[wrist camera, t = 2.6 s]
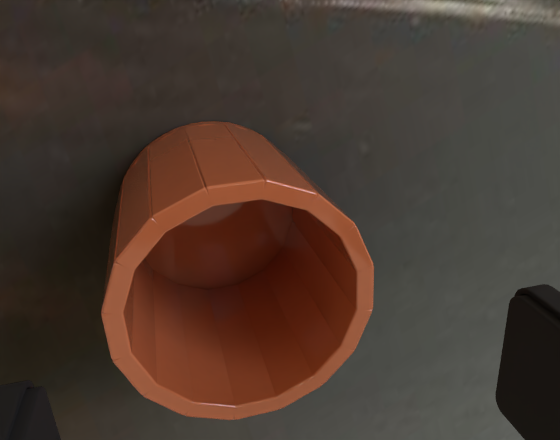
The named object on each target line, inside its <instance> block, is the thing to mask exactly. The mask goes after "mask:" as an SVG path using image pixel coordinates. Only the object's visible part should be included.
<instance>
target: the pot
mask: <svg viewBox="0 0 560 440" xmlns="http://www.w3.org/2000/svg"><path fill="white" fill-rule="evenodd" d="M373 287H374V266H373V262H372V259H371V257H370V255H369V253H368V250H367V248H366V246H365V244H364V241H363V239H362V237H361V235H360V232H359V230H358V228H357V226H356V225H355V223H354V222H353V221H352V220H351V219H350V218H349V217H348V216H347V215H346V214H345V213H344V212H343V211H342V210H341V209H340V208H339V207H338V206H337V205H336V204H335V203H334V202H333V201H332V200H331V199H330V198H329V197H328V196H327V195H326V194H325V193H324V192H323V191H322V190H321V189H320V188H319V187H318V186H317V185H316V184H315V183H314V182H313V181H312V180H311V179H310V178H309V177H308V176H307V175H306V174H305V173H304V172H303V171H302V170H301V169H300V168H299V167H298V166H297V165H296V164H295V163H294V162H293V161H292V160H291V159H290V158H289V157H288V156H286V155H285V154H284V153H283V152H282V151H281V150H279V149H278V148H277V147H276V146H275V145H274V144H273V143H272V142H270V141H269V140H268V139H266V138H265V137H264V136H263V135H260V134H259V133H257V132H255V131H253V130H251V129H248V128H246V127H243V126H240V125H236V124H232V123H228V122H217V121H210V122H198V123H192V124H188V125H185V126H181V127H178V128H176V129H173V130H171V131H169V132H167V133H165V134H163V135H162V136H160V137H158V138H157V139H155V140H154V141H153V142H151V143H150V144H149V145H148V146H147V147H145V148H144V149H143V150H142V152H141V153H140V154H139V155H138V156H137V157H136V158H135V160H134V161H133V163H132V164H131V165H130V167H129V168H128V170H127V172H126V175H125V176H124V179H123V181H122V184H121V187H120V190H119V196H118V201H117V205H116V209H115V213H114V221H113V228H112V235H111V242H110V250H109V257H108V264H107V272H106V279H105V286H104V294H103V301H102V308H101V317H102V321H103V326H104V330H105V334H106V338H107V343H108V347H109V351H110V356H111V359H112V360H113V362H114V364H115V365H116V366H117V367H118V368H119V369H120V371H121V372H122V373H123V374H124V375H125V376H126V378H127V379H128V380H129V381H130V382H131V383H132V385H133V386H134V387H135V388H136V389H137V390H138V392H139V393H140V394H141V395H143V396H144V397H145V398H147V399H149V400H151V401H154V402H156V403H158V404H160V405H162V406H164V407H166V408H169V409H171V410H173V411H175V412H177V413H179V414H181V415H184V416H185V415H186V416H187V417H199V418H211V419H223V420H233V419H234V420H237V419H241V418H245V417H250V416H254V415H258V414H263V413H267V412H271V411H276V410H279V409H280V408H284V407H286V406H287V405H289V404H291V403H293V402H294V401H296V400H298V399H300V398H301V397H303V396H305V395H307V394H308V393H310V392H312V391H314V390H315V389H317V388H319V387H321V386H322V384H324V383H325V382H326V381H327V380H328V379H329V378H330V377H331V376H332V375H333V374H334V373H335V372H336V370H337V369H338V368H339V367H340V366H341V365H342V364H343V363H344V362H345V361H346V360H347V359H348V358H349V356H350V355H351V354H352V353H353V352H354V350H355V349H356V347H357V345H358V342H359V340H360V338H361V336H362V333H363V331H364V329H365V326H366V324H367V322H368V320H369V317H370V315H371V313H372V309H373Z"/></svg>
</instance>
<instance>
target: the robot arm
mask: <svg viewBox="0 0 560 440" xmlns="http://www.w3.org/2000/svg"><path fill="white" fill-rule="evenodd" d="M496 402H497V405H498V407H499V409H500V411H501V412H502V414H503V415H504V416H505V417H506V418H507V419H508V421H509V422H510V423H511V424H512V425H513V426H514V428H515V429H516V430H517V431H518V432H519V433H520V434H521V436H522V437H523V438H524V439H525V440H560V292H559V291H557V290H556V289H555V288H553V287H551V286H549V285H545V284H543V285H537V286H532V287H527V288H521V289H519V290H518V291H517V292H516V293H515V297H513V298H512V299H511V300H510V303H509V309H508V316H507V322H506V329H505V336H504V342H503V349H502V355H501V362H500V369H499V375H498V382H497V389H496ZM0 440H61V439H60V435H59V432H58V429H57V426H56V422H55V419H54V416H53V413H52V409H51V406H50V403H49V400H48V396H47V393H46V390H45V388H44V387H42V386H41V387H34V385H33V383H32V382H31V381H29V380H27V381H22V382H16V383H11V384H6V385H0Z"/></svg>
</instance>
